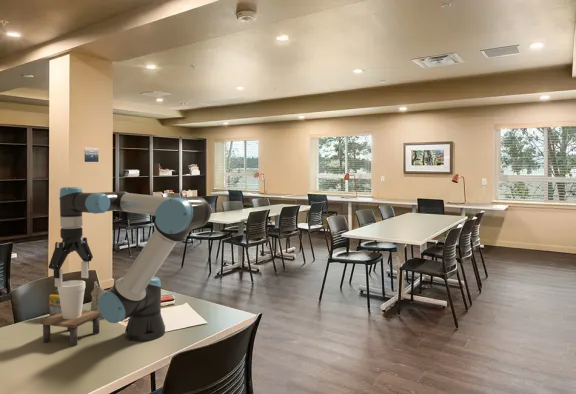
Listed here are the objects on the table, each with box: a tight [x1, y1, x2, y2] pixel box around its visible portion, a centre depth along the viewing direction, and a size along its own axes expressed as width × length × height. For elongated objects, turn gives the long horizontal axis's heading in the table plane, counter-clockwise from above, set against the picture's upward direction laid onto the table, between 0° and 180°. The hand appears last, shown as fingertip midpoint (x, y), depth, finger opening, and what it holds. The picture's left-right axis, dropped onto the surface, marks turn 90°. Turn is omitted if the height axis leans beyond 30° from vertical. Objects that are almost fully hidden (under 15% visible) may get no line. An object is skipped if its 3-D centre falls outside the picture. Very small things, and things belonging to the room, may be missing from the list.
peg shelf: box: [39, 309, 101, 347], centre depth 161 cm, size 15×15×8 cm
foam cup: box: [57, 279, 86, 319], centre depth 160 cm, size 10×9×13 cm
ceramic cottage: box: [89, 281, 111, 320], centre depth 190 cm, size 16×16×15 cm
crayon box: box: [48, 289, 62, 317], centre depth 182 cm, size 7×3×12 cm, turn 73°
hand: (72, 282), depth 160 cm, fingers open, 13 cm apart
